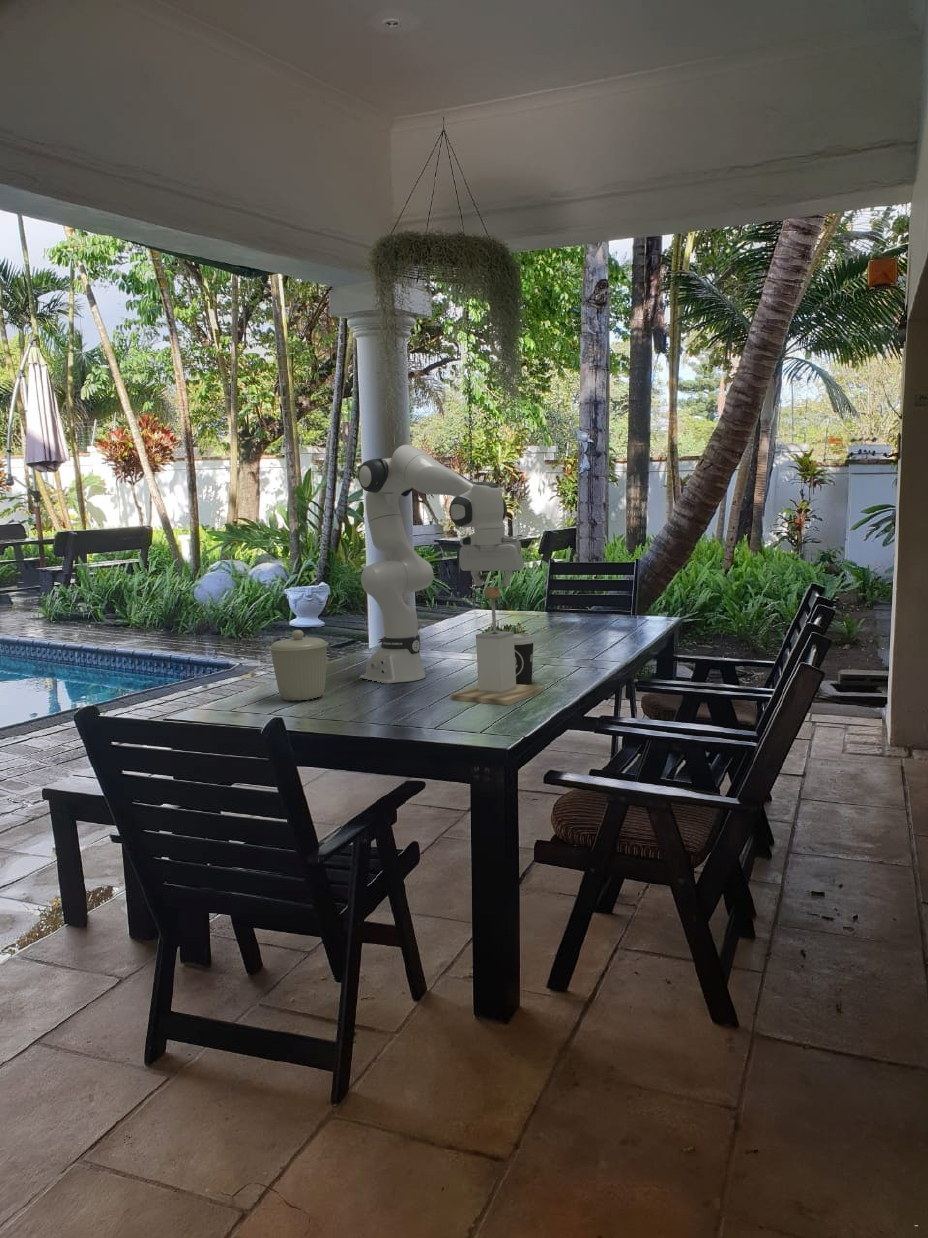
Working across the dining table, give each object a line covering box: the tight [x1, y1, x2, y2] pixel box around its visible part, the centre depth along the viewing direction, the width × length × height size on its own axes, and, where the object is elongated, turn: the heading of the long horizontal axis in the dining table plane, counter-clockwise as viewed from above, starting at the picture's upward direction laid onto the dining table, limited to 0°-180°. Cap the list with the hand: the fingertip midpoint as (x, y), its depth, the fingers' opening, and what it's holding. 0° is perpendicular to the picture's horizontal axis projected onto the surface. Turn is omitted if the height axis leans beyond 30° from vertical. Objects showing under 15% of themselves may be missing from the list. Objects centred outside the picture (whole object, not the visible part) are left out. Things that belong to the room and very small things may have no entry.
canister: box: [267, 629, 329, 701], centre depth 298 cm, size 18×18×21 cm
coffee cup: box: [514, 633, 536, 685], centre depth 303 cm, size 10×10×15 cm
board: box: [449, 684, 545, 706], centre depth 288 cm, size 20×20×2 cm
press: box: [475, 630, 516, 694], centre depth 288 cm, size 8×11×17 cm
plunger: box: [485, 586, 501, 634], centre depth 285 cm, size 6×6×20 cm
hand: (492, 586), depth 284 cm, fingers open, 8 cm apart
